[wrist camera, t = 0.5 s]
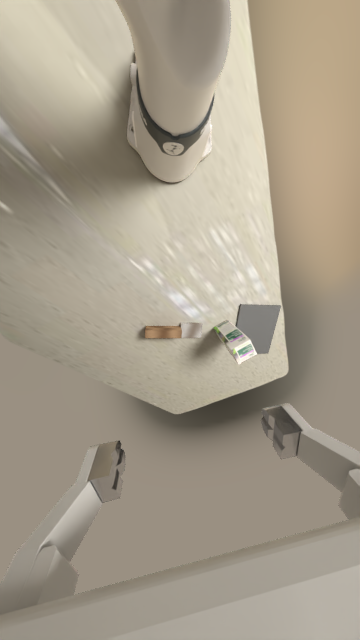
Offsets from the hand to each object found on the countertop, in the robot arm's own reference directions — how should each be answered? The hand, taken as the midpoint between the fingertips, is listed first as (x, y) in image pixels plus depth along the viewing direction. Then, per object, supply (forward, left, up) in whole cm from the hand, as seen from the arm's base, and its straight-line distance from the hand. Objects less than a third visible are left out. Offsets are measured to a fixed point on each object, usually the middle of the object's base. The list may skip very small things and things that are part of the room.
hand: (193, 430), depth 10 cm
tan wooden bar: (+13, +4, -44) cm, 46 cm away
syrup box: (+13, +20, -44) cm, 50 cm away
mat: (+13, +31, -44) cm, 55 cm away
